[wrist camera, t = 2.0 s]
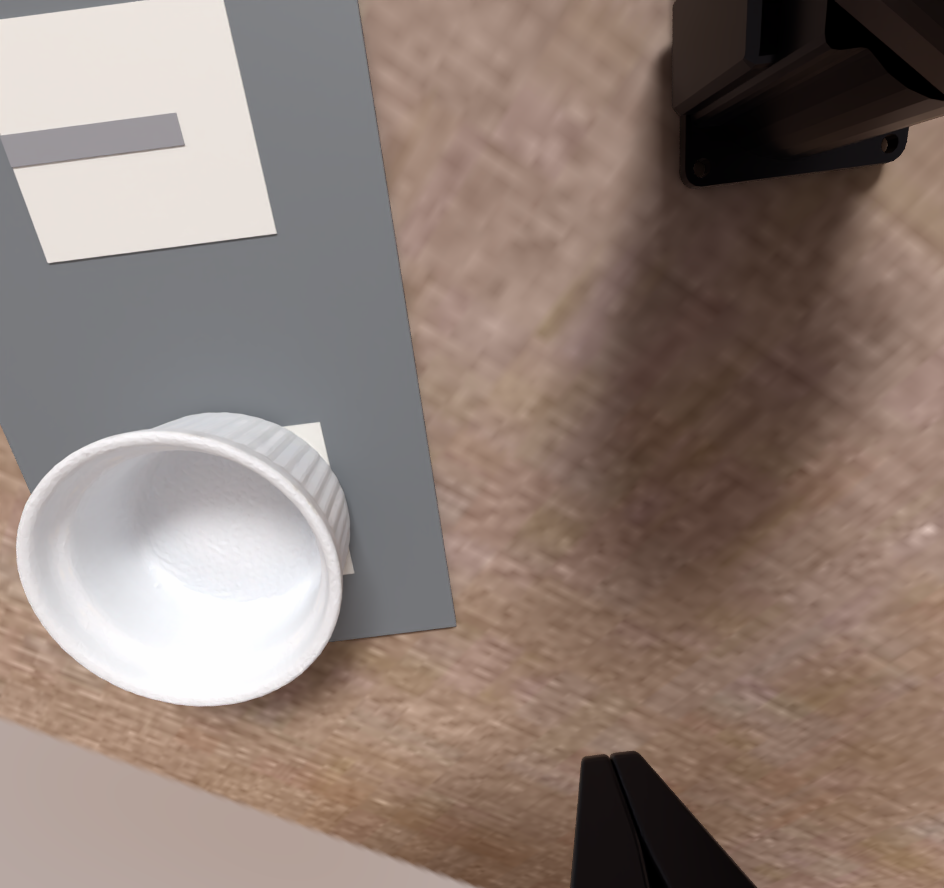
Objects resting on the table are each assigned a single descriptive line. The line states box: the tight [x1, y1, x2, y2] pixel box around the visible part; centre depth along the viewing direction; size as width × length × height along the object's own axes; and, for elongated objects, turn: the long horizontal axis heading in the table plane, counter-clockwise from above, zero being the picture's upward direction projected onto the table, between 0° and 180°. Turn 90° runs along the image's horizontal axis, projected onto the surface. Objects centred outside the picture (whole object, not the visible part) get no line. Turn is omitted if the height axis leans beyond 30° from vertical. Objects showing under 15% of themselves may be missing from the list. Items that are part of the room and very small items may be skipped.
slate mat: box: [0, 0, 456, 642], centre depth 17 cm, size 14×24×1 cm, turn 7°
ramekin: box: [16, 412, 350, 706], centre depth 17 cm, size 9×9×4 cm
